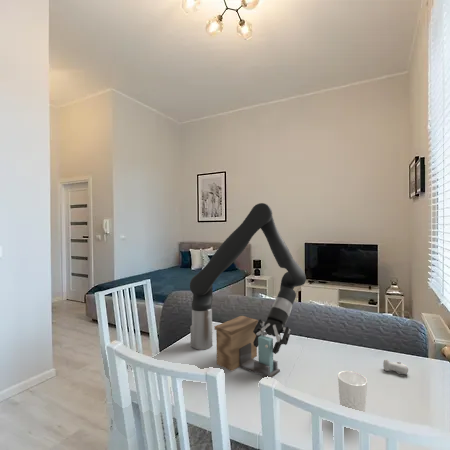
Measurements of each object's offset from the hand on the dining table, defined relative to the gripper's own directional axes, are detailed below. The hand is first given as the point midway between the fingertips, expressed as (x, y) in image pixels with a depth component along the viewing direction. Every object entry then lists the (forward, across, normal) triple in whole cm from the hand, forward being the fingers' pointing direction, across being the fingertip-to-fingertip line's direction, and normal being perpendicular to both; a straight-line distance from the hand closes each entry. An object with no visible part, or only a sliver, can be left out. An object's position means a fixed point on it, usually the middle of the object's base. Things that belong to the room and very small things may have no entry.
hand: (264, 349), depth 107 cm
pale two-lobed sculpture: (-17, +36, +29) cm, 50 cm away
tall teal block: (+5, 0, +6) cm, 8 cm away
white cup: (+7, +32, +6) cm, 33 cm away
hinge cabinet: (+6, -7, +7) cm, 11 cm away
